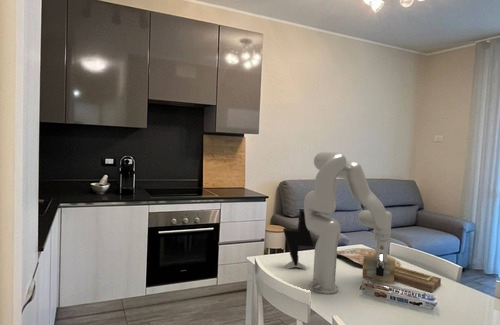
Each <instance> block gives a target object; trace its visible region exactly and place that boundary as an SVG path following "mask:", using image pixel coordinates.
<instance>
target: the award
mask: <svg viewBox="0 0 500 325" xmlns="http://www.w3.org/2000/svg"><path fill="white" fill-rule="evenodd" d="M298 212H299V213H298V221H297V222H298V224H297V228H289V227H287V228H285V227H284V228H283V233H284V236H285V239H286V243H287V246H288V249H289V250H288V251H289V255H290V256H289V257H290V259H291V261H290V262H288V263H286V264H285V265H284V266H286V267H285V268H286V270H289V269H293V268H300V269H302V270H308V269H307V267H306V266H305V265H304V264H302V263H301V262H299V246H300V247H301V246H302V247H314V243H313V238H312V235H311V232H310V231H308V229H307V227H306V223H305V212H304V210H303V209H302V208H300V209H299V211H298Z"/></svg>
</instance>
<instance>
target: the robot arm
mask: <svg viewBox="0 0 500 325" xmlns="http://www.w3.org/2000/svg"><path fill="white" fill-rule="evenodd" d="M313 164H314V167H315V168H316V169H317V170H318V172H317V174H316V176H315V179H314V190H310V191H309V192H307V193H306V195H305V198H304V199H303V209H304V210H303V211H304V213H305V223H306V227H307V229H308V231H310V234H313V235H314V236H317V240H316V243H315V246H314V258H313V259H314V260H313V274H312V275H313V276H312V281H309V283H308V284H307V288H308V289H310V290H312V291H314V292H317V293H318V294H326V295H330V294H331V295H332V294H337V292H338V291H339V286H338V284H337V283H336V271H337V258H338V257H337V256H338V254H337V251H338V244H339V239H340V235H341V231H342V230H341V229H342V228H341V225H340V223H339V221H338V220H337V219H335V218H332V217H330V215H333V214H334V213H335V211H336V208H337V206H336V203H337V202H336V200H337V199H336V188H335V187H336V179H337V178H339V179H343V180H345V183H346V184H347V187H348V189H349V192H350V195H351V197H352V198H353V199H354V200H356V201H357V202H358V203H359V204H361V205H362V206H364V207H365V208H366V209H363V210H361V211H360V212H359V213H358V216H357V220H358V222H359V223H360V224H361V225H363V226H364V227H367V228H372V229H373V240H375V247H374V248H375V249H374V250H375V255H376V261H377V268H376V275H377V276H383V274H384V262H385V263H386V262H387V254H388V249H389V248H388V247H389V244H388V242H391V235H392V234H391V233H392V221H393V220H392V219H393V217H392V216H393V215H392V212H391V211H388V210H386V207H385V206H384V204H383V203H382V201H381V200H380V199H379V198H378V196H377V195H375V193H374V192H373V191H372V190H371V188H370V186H369V183H368V181H367V178H366V175H365V172H364V170H363V167H362V165H361V163H359V162H357V161H355V160H347V158H346V156H345V155H344V154H343V153H339V152H332V151H331V152H327V151H322V152H319V153H318V152H317V154H316V155H315V156H314V159H313ZM378 258H379V259H378ZM379 260H380V261H379Z"/></svg>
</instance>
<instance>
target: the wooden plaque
mask: <svg viewBox="0 0 500 325" xmlns="http://www.w3.org/2000/svg"><path fill="white" fill-rule="evenodd" d="M378 259H379V258H378ZM395 260H396V258H394V259H392V258H387V262H386V263H385V262H384V274H383V276H377V275H376V268H377V261H376V256H374V255H368V254H364V259H363V266H362V276H361V277H362V279H365V280H366V279H367V280H373V281H377V282H383V283H388V284H393V285H394V283H395V281H394V271H395ZM379 261H380V260H379Z"/></svg>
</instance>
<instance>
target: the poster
mask: <svg viewBox="0 0 500 325" xmlns="http://www.w3.org/2000/svg"><path fill="white" fill-rule="evenodd" d="M364 254H368V255H374V256H376V255H375V249H373V248H366V247H356V248H346V249H341V250H337V255H339V256H340V255H341V256H343V257H345V258H348V259H349V260H351V261H353V263H357V264H359V265H360V266H362V267H363V259H364ZM387 258H392V259H395V258H394V256H391V255H390V254H388V253H387ZM395 266H399V267H401V262H400V261H399V260H397V259H395Z"/></svg>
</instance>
